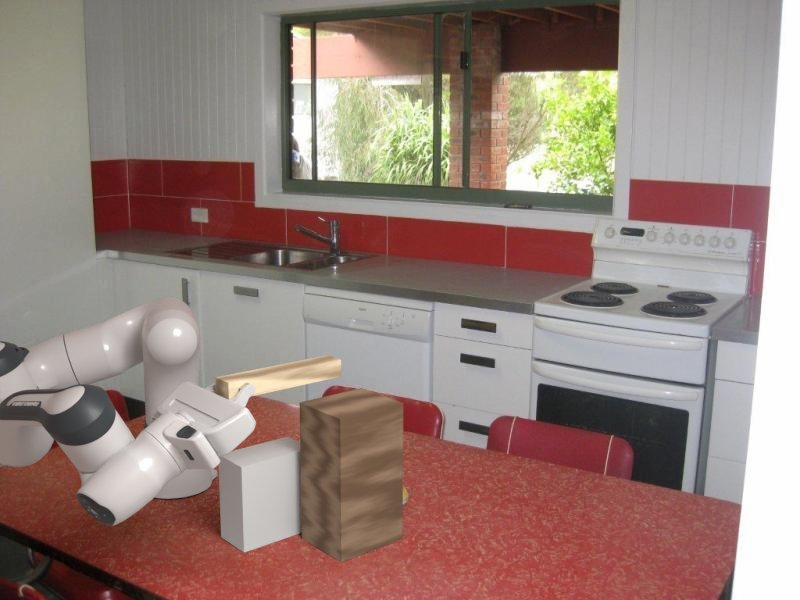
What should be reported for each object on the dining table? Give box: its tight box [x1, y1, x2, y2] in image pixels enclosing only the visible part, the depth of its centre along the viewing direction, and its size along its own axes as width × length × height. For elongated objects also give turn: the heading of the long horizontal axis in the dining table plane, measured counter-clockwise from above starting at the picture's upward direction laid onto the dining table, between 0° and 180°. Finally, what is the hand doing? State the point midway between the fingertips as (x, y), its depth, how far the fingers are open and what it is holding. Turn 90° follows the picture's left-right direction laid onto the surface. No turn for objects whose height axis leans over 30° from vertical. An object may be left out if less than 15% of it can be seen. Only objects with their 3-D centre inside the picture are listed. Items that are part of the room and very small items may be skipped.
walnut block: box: [299, 387, 404, 563], centre depth 167 cm, size 12×14×26 cm
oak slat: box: [215, 354, 342, 400], centre depth 153 cm, size 4×22×3 cm, turn 131°
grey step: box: [218, 436, 302, 553], centre depth 170 cm, size 8×15×16 cm, turn 131°
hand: (242, 382), depth 149 cm, fingers closed on oak slat, 4 cm apart
